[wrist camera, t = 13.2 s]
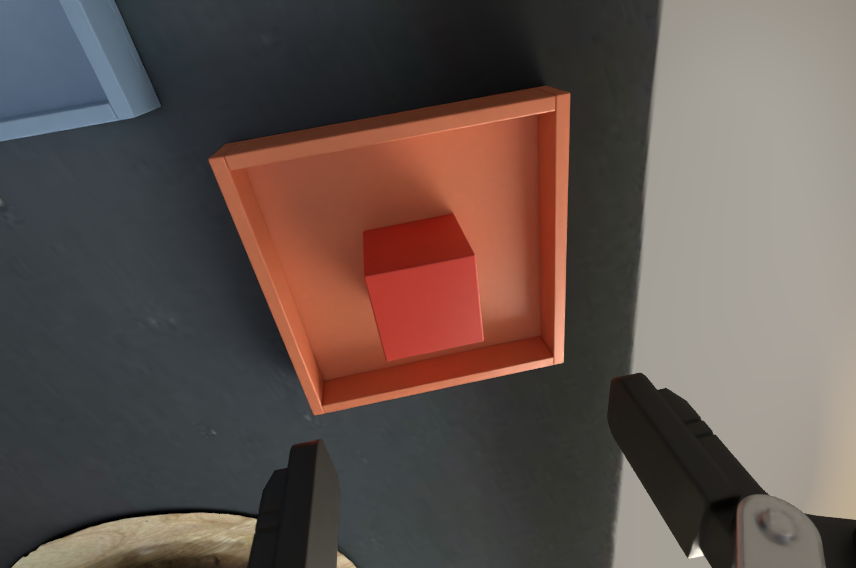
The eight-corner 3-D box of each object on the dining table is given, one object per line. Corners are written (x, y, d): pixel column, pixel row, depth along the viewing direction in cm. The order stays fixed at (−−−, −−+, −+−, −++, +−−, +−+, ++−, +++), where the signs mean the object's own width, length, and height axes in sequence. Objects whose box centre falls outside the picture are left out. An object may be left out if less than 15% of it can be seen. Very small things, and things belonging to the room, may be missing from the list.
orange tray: (546, 85, 19) (570, 92, 17) (547, 335, 26) (564, 363, 24) (224, 143, 18) (207, 158, 16) (317, 384, 26) (313, 415, 24)
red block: (454, 212, 21) (475, 254, 17) (463, 290, 23) (484, 341, 19) (362, 230, 21) (363, 276, 17) (380, 306, 23) (385, 362, 19)
